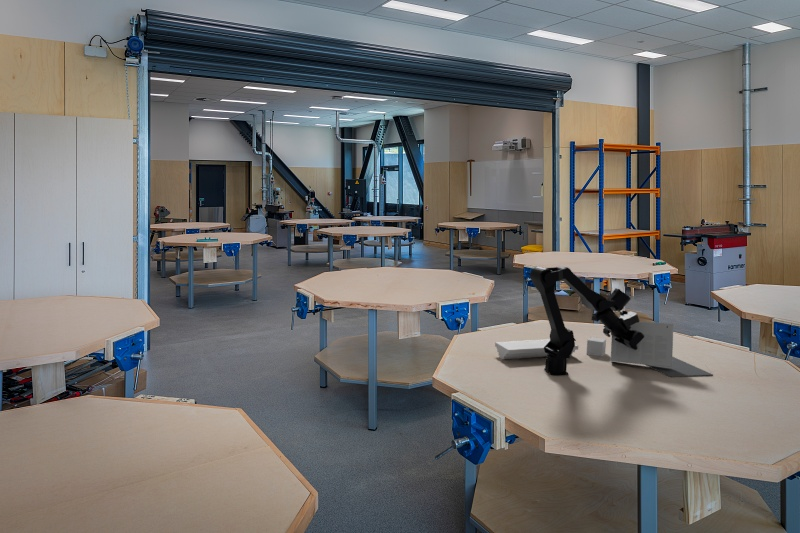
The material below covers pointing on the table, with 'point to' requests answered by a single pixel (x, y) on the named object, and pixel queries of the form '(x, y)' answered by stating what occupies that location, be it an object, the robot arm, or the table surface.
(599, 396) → the table surface
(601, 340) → the white cube
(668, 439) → the table surface
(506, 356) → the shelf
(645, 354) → the skincare box
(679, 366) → the rubber mat
